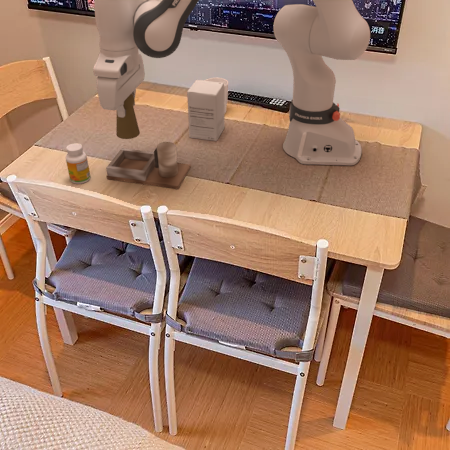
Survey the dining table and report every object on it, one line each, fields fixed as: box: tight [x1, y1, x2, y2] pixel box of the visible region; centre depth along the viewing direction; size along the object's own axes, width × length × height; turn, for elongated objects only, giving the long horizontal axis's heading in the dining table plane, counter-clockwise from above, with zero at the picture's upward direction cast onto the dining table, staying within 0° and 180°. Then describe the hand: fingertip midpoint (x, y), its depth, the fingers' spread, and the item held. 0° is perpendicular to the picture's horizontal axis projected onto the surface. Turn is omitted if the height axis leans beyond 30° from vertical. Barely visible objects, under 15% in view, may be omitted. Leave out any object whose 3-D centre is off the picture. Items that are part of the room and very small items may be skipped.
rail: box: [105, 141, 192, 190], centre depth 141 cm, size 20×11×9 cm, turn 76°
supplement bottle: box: [65, 142, 91, 184], centre depth 138 cm, size 5×5×10 cm
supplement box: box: [186, 79, 225, 142], centre depth 157 cm, size 9×9×15 cm
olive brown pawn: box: [115, 93, 141, 140], centre depth 134 cm, size 6×6×11 cm
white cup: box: [204, 77, 229, 115], centre depth 170 cm, size 8×8×10 cm
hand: (126, 111), depth 133 cm, fingers closed on olive brown pawn, 4 cm apart
